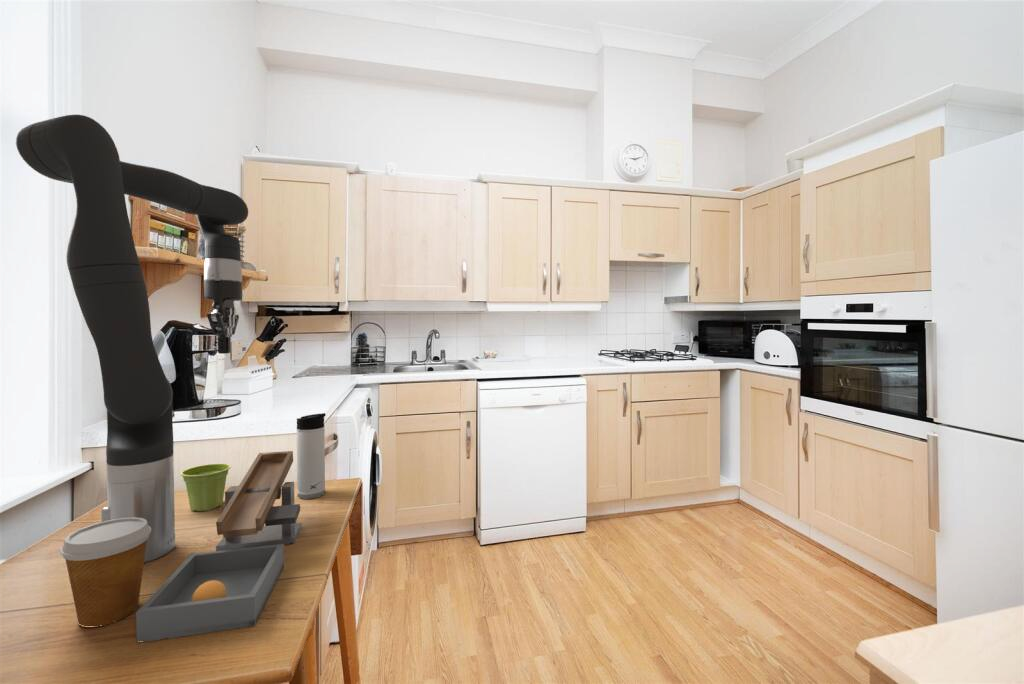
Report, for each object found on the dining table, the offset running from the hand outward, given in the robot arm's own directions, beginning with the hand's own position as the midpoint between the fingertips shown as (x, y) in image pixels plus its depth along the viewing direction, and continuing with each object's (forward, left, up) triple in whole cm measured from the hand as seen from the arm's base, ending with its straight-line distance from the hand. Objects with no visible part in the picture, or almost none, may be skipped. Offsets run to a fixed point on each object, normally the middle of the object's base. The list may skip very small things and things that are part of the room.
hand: (224, 353), depth 105 cm
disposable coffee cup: (0, -44, -35) cm, 56 cm away
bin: (+14, -44, -35) cm, 58 cm away
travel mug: (+19, -1, -35) cm, 40 cm away
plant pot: (-3, -3, -35) cm, 35 cm away
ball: (+14, -48, -32) cm, 60 cm away
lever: (+16, -23, -29) cm, 40 cm away
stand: (+14, -24, -35) cm, 45 cm away
